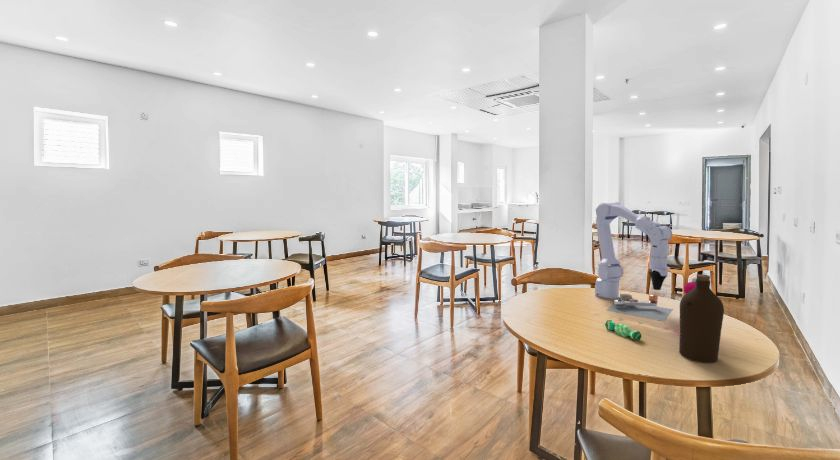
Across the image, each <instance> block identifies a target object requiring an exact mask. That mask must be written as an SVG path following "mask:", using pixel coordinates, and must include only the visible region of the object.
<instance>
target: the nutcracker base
mask: <svg viewBox="0 0 840 460" xmlns="http://www.w3.org/2000/svg"><path fill="white" fill-rule="evenodd" d="M626 297H632V298H633V295H632V294H630V293H619V299H622V300H624V301H625V298H626ZM673 310H674V309H673V308H668V307H663V306H662V307H661V306H658V305H657V306H631V305H625V306H617V305H614V304H613V305H611V306H610V307H608V308H607V309H606V311H607V312H612V313H613V312H614V313H618V314H623V315H629V316H633V317H637V318H638V317H639V318H643V319H644V318H645V319H649V320H655V321H660V322H665V321H666V319H667V318H668V317H669V316H670V314H671V313H672V311H673Z"/></svg>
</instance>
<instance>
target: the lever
mask: <svg viewBox="0 0 840 460" xmlns="http://www.w3.org/2000/svg"><path fill="white" fill-rule="evenodd" d="M658 299H659V296H658V295H657V294H653V293H649V295H648V301H641V300H640V301H639V299H637V298H633V299H629V301H624V300H622V299H620V298H615V299H613V305H617V306H625V305H631V306H657V307H658Z"/></svg>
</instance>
